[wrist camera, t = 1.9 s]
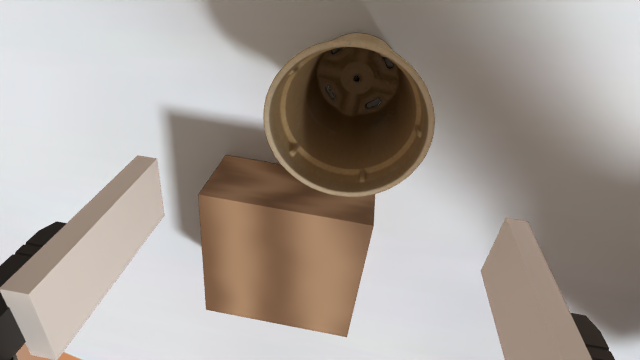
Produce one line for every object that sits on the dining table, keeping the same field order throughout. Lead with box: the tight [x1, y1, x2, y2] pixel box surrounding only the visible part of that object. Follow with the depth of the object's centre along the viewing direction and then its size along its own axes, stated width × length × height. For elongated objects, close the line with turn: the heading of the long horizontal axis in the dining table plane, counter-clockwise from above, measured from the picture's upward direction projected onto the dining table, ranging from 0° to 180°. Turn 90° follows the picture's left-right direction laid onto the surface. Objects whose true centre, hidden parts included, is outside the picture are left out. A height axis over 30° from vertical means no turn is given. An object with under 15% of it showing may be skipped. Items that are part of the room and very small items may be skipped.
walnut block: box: [198, 155, 375, 337], centre depth 35 cm, size 13×13×6 cm
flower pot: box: [263, 33, 435, 197], centre depth 26 cm, size 9×9×9 cm
